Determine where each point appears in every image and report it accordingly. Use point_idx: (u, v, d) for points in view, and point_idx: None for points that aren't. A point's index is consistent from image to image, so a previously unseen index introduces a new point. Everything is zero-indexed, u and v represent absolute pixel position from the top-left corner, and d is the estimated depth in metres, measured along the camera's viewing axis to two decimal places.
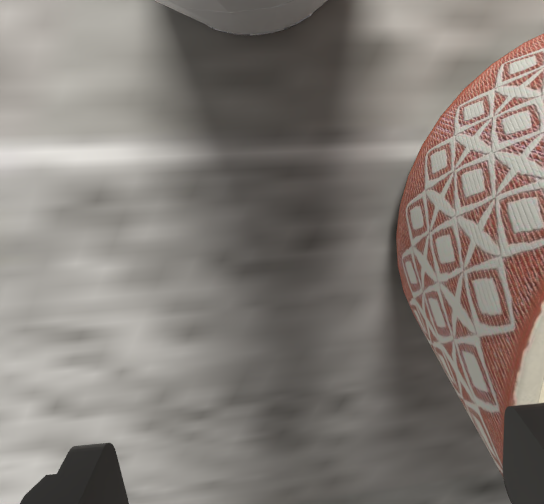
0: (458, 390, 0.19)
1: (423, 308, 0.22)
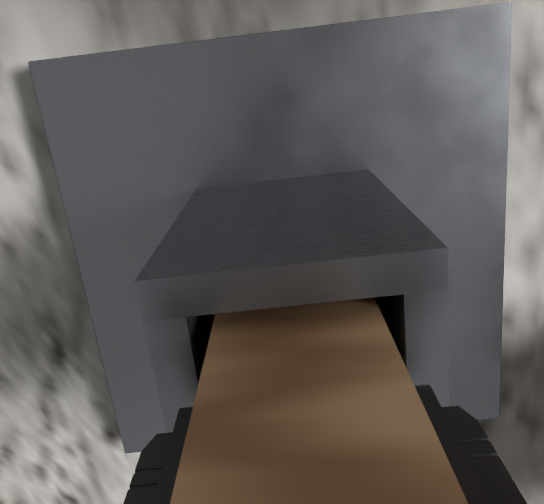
0: None
1: None
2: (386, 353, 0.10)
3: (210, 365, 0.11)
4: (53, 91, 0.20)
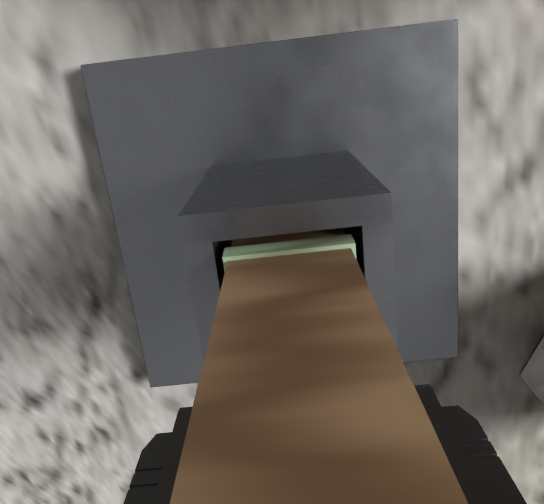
0: None
1: None
2: (386, 353, 0.10)
3: (210, 365, 0.11)
4: (99, 88, 0.25)
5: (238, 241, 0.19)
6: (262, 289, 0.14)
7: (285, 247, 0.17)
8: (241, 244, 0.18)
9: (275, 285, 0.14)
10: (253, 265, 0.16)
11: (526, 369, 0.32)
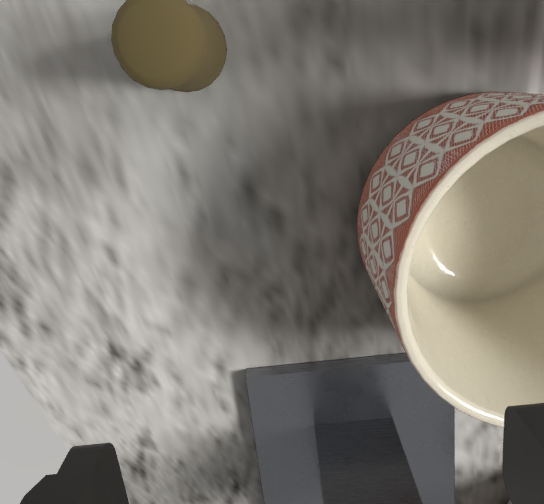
0: (487, 109, 0.30)
1: (494, 97, 0.33)
2: None
3: None
4: (255, 388, 0.46)
5: None
6: None
7: None
8: None
9: None
10: None
11: None
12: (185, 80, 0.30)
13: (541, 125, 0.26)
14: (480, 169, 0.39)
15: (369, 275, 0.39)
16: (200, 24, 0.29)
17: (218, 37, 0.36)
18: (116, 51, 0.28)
